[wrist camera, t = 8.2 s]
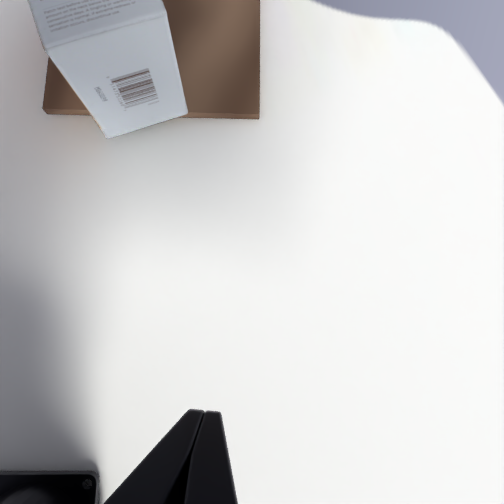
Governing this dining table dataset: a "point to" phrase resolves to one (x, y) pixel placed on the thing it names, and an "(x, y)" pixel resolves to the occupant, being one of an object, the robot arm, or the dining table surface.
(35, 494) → the robot arm
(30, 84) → the dining table surface
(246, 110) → the walnut board
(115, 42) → the small box
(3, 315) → the dining table surface
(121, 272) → the dining table surface
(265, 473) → the dining table surface
